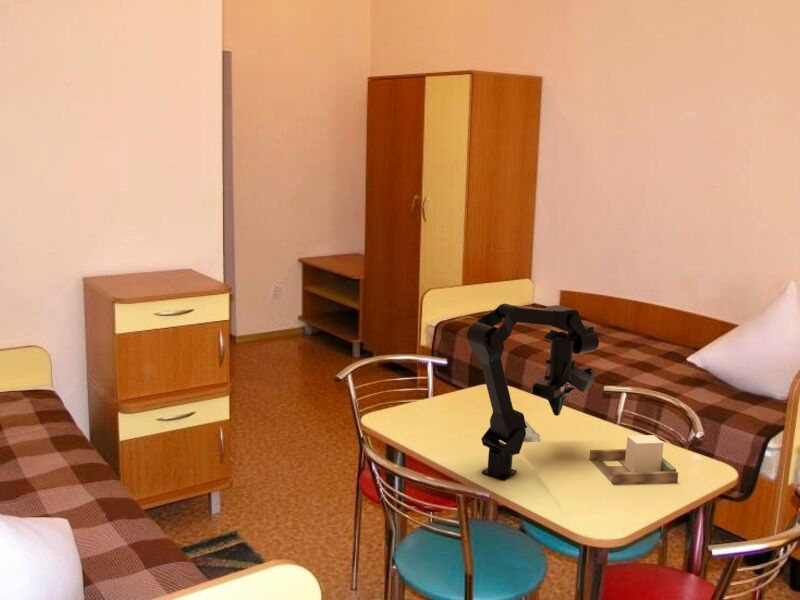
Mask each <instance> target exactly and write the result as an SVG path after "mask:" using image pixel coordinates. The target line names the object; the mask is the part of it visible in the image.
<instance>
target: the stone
mask: <svg viewBox="0 0 800 600" xmlns="http://www.w3.org/2000/svg"><path fill="white" fill-rule="evenodd" d="M525 424H526V426H527V428H525V429H526V436H525V438H524V441H523V443H539V442H540V437H541V435H540V433H538V432H537V431H536V430H535V429H534V428H533V427H532V426H531V425H530V424H529V422H528V421H527V420H526V419H525Z"/></svg>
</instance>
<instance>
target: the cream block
mask: <svg viewBox="0 0 800 600" xmlns="http://www.w3.org/2000/svg"><path fill="white" fill-rule="evenodd" d="M625 447H626V448H625V449H626V457H625V467H626V468H627V469H628V470H629V471H630V472H659V471H661V463H662V457H663V454H664V453H663V451H664V442H663V440H661V439H659V438H658V437H657V436H656V435H655V434H652V435H627V437H626V446H625Z"/></svg>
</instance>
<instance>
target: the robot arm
mask: <svg viewBox="0 0 800 600" xmlns="http://www.w3.org/2000/svg"><path fill="white" fill-rule="evenodd" d="M500 323H502V324H501V325H500V326H499V327H496V325H498V324H500ZM517 323H521V324H531V325H541V326H548V327H551V328H555V329H558V330H562V331H557V330H554V329H550V330H549V331H548V333H546V334H545V335H544V339H545V340H548V341H550V344H549V346H550V347H549V358H547V359H546V360H545V364H547V365H548V370H547V371H548V373H547V374H544V380H543V379H542V380H539V381H537V382H534V384H532V385H531V389H530V391H531V394H532V395H535V396H539V397H544V398H546V399H547V401H548V404H549V406H550V408H551V411H552V413H553V415H554V416H556V417H557V416H560V414H561V412H562V409H563V407H564V403H565V402H566V401H565V400H566V398H567V397H568V395H569V394H571V393H572V392H573V391H575V388H576V389H577V390H578V391H579V392H583V393H584V392H586V391H587V390H589V389H590V388H591V386H592V383H594V382H595V381H596V379H595V377H596V376H595V369H594V368H593V367H590V366H588V367H587V368H584V369H583V368H579V367H577V362H576V359H574V358H573V357H574V356H573V355H580V354H586V353H592V352H595V351H597V350H598V347H599V345H600V340H599V338H598V335H597V334H596V332H595V330H594V326H592V325H584V323H583V321H582V320H581V317H580V313H579V311H578V310H577V309H573V308H570V307H566V306H562V305H559V304H557V305H548V306H547V307H541V308H540V307H533V306H521V305H513V304H509V303H501V304H499V305H498V306H497V307H496V308H495V309H494V310H492V311H490V312H489V313H486V314H484V315H482V316H480V318H478V320H477V321H475V322H473V324H471V325H470V326H469V328H468V330H467V331H466V341H467V343H468V345H469V348H470V350H471V351H472V352H473V354H474V355H475V356H476V357H477V359H478V360H479V362H480V365H481V370H482V373H483V377H484V378H483V379H484V381H485V384H486V385H485V386H486V389H487V393H488V397H489V400H490V401H489V403H490V405H491V408H492V409H491V410H492V414H491V415H490V418H489V425H490V426H489V428H488V429H487V430H486V431H485V433H484V434H483V435H482V437H481V442H482V446H484V447H487V448H488V454H487V455H488V458H487V468H485V469H483V470H481V473H482V474H484V475H485V476H489V477H493V478H495V479H499V480H501V481H506V480H508V479H509V478H511V477H512V476H514V475H515V474H517V473H518V470H517V469H513V468H512V467H513V456H515V455H519V454H520V453H521V450H522V447H523V443H524V442H523V441H524V438H525V436H526V429H525V428H527V426H526V424H525V420H526V419H525V415H524V413H523V412H520V411H518V410H516V409H514V406H513V403H512V399H511V395H510V391H509V386H508V383H507V381H508V380H507V378H506V374H505V370H504V366H503V361H502V357H503V353H504V350H505V341H506V340H507V339H508V338H509V337H510V336H511V334H512V332H513V329H514V326H516V324H517ZM571 386H572V387H571Z"/></svg>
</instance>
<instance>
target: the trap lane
mask: <svg viewBox="0 0 800 600" xmlns="http://www.w3.org/2000/svg"><path fill="white" fill-rule="evenodd" d="M625 457H626V448H625V449H624V448H621V449H620V448H619V449H618V448H616V449H590V451H589V460H590V462H591V463H592V464H594V466H595V467H596V468H597V469H598V470H599V471H600V473H602V475H603V476H605V478H606V479H607V480H608V481H609V482H610V483H611V484H612V485H613V486H615V485H616V486H619V485H624V486H626V485H654V484H655V485H659V484H660V485H663V484H678V481H679V480H678V479H679V472H678V471H677V468H676V467H674V466H673V465H672V464H671V463H670V462H668V461H667V459H665V458H664V457H663V456H662V463H661V471H659V472H630V471H629V470H628V469H627V468H626V467H625ZM608 461H609V462H613V461H614V462H616V461H617V462H618V463H620V465H608V464H606V463H605V462H608Z"/></svg>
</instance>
